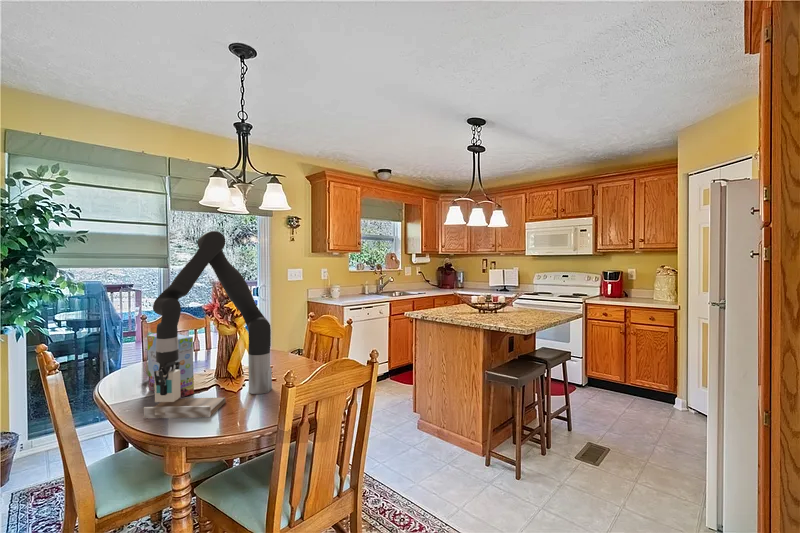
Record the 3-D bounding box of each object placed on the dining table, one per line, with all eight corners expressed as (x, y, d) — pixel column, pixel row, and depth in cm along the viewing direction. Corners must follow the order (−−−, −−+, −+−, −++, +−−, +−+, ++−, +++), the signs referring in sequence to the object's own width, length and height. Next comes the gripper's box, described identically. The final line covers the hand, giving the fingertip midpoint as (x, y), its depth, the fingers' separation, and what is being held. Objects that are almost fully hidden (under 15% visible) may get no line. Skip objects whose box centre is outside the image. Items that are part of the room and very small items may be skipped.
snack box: (146, 391, 173) (145, 334, 173) (165, 385, 181) (165, 331, 180) (176, 400, 163) (175, 339, 162) (195, 393, 171) (194, 335, 170)
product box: (162, 397, 153) (162, 369, 152) (180, 397, 153) (180, 369, 153) (154, 402, 147) (154, 373, 147) (173, 401, 148) (173, 373, 147)
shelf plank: (225, 402, 160) (225, 392, 160) (209, 417, 145) (209, 407, 145) (166, 403, 159) (165, 393, 159) (143, 418, 144) (143, 408, 144)
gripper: (167, 344, 157) (168, 386, 157) (146, 353, 142) (146, 399, 143) (186, 344, 157) (187, 386, 157) (166, 353, 143) (167, 399, 143)
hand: (167, 392), depth 150 cm, fingers closed on product box, 5 cm apart
